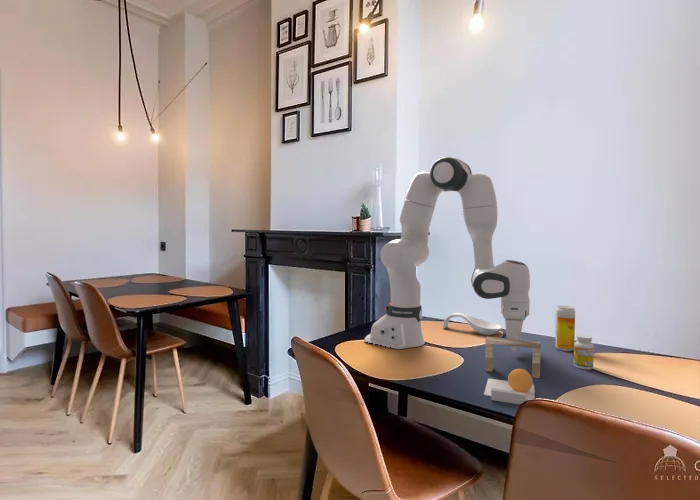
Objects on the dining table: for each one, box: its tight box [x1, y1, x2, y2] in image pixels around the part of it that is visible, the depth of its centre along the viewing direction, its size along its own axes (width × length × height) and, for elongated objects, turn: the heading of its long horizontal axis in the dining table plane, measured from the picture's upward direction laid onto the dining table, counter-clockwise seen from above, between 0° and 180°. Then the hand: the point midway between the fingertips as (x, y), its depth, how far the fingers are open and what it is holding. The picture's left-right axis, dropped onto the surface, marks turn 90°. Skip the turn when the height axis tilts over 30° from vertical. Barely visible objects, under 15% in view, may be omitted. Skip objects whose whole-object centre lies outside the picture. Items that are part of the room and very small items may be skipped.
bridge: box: [484, 336, 542, 379], centre depth 121 cm, size 3×15×10 cm, turn 66°
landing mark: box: [483, 377, 536, 400], centre depth 108 cm, size 12×12×1 cm
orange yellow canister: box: [554, 305, 576, 352], centre depth 143 cm, size 6×6×15 cm
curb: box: [490, 388, 526, 405], centre depth 101 cm, size 8×2×2 cm, turn 66°
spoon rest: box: [442, 312, 503, 336], centre depth 168 cm, size 24×12×7 cm, turn 60°
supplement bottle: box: [573, 334, 595, 370], centre depth 125 cm, size 5×5×10 cm
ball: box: [507, 368, 534, 393], centre depth 107 cm, size 6×6×6 cm
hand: (514, 349), depth 136 cm, fingers closed
